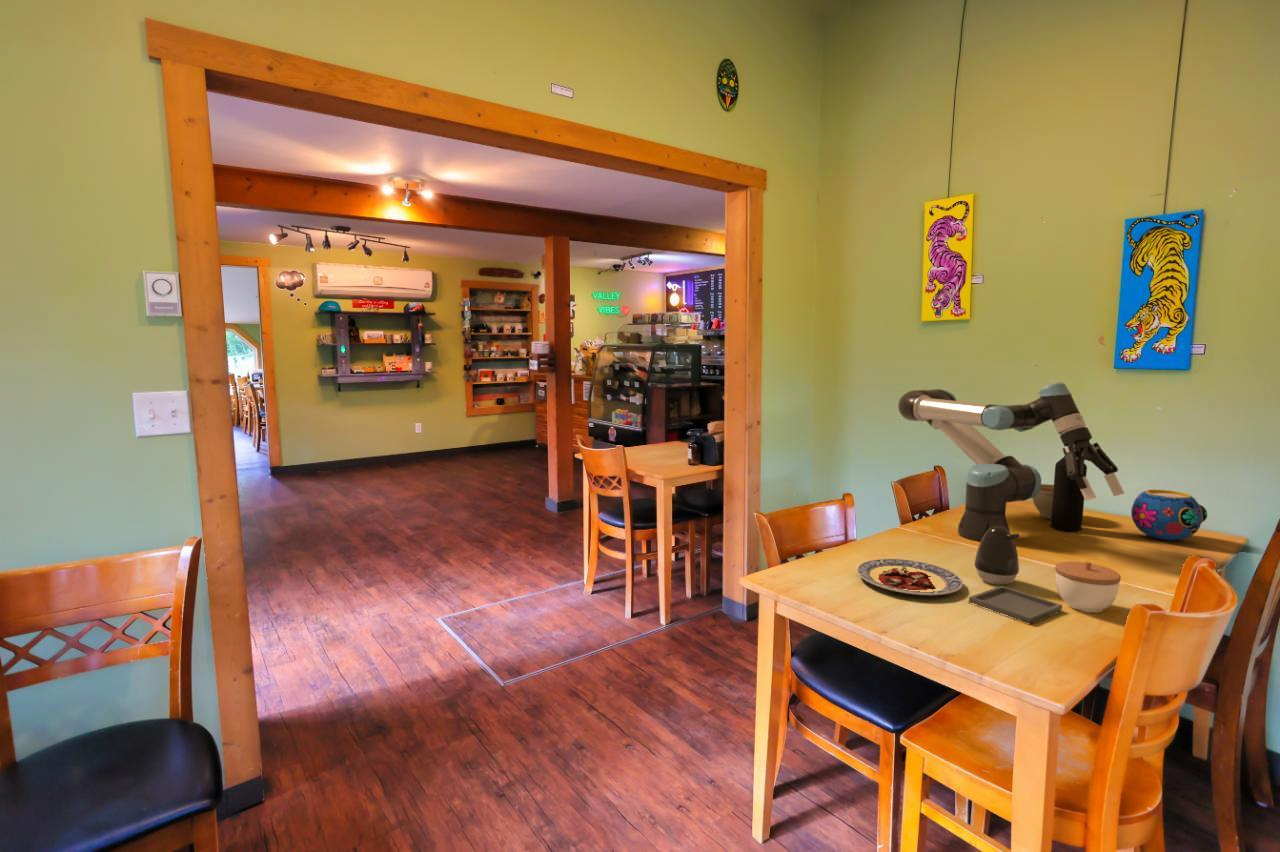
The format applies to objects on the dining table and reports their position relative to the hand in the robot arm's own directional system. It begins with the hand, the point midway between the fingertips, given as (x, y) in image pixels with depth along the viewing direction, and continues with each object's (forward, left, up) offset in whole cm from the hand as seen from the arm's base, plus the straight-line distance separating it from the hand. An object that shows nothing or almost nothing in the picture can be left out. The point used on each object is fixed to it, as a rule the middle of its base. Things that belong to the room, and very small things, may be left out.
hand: (1105, 497), depth 182 cm
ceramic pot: (+2, +37, -18) cm, 42 cm away
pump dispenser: (-5, -47, -18) cm, 50 cm away
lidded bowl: (+15, -45, -18) cm, 51 cm away
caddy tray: (+7, -59, -18) cm, 62 cm away
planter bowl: (-29, +34, -18) cm, 48 cm away
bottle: (-20, +22, -18) cm, 35 cm away
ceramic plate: (-17, -67, -19) cm, 71 cm away
